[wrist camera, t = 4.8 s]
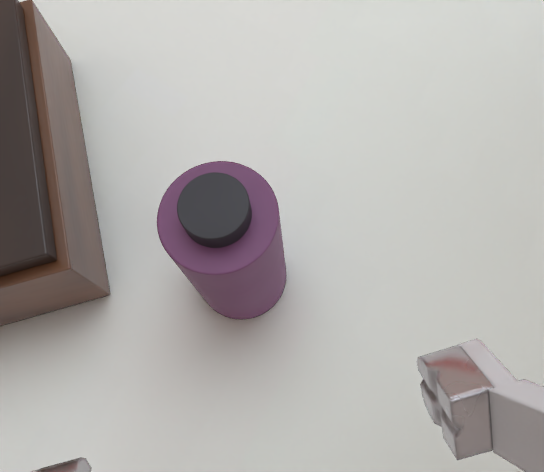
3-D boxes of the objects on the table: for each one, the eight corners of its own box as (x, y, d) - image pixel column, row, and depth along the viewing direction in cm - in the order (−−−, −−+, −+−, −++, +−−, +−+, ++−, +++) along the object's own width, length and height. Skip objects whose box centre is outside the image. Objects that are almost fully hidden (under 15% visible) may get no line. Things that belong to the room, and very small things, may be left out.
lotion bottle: (272, 225, 28) (258, 133, 19) (297, 305, 26) (293, 245, 17) (191, 248, 28) (138, 166, 19) (210, 330, 26) (162, 282, 17)
